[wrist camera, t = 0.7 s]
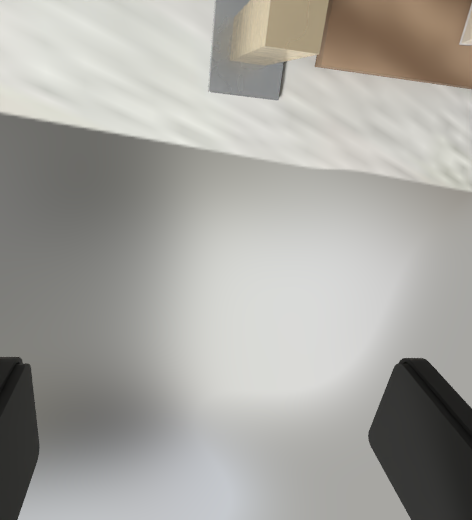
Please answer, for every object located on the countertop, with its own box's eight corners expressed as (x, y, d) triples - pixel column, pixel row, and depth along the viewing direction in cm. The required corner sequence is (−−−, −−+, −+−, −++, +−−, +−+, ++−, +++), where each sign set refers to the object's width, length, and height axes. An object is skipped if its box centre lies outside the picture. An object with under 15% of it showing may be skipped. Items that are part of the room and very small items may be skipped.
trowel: (216, -22, 29) (250, -98, 17) (291, -9, 30) (371, -71, 18) (207, 91, 32) (231, 95, 20) (275, 100, 33) (335, 107, 21)
